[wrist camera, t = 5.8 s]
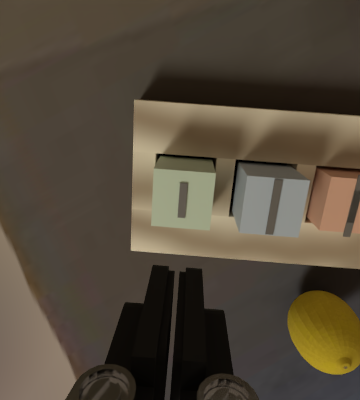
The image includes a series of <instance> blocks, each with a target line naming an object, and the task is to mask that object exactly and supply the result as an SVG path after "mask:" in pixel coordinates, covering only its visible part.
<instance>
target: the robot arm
mask: <svg viewBox="0 0 360 400" xmlns="http://www.w3.org/2000/svg"><path fill="white" fill-rule="evenodd" d="M174 273H175V271H169V266H159V265H153V267H152V271H151V275H150V279H149V284H148V288H147V292H146V296H145V301H144V304H142V303H129V302H126V303H125V304H124V306H123V309H122V312H121V316H120V319H119V322H118V325H117V328H116V331H115V334H114V337H113V340H112V343H111V346H110V349H109V352H108V355H107V358H106V361H105V364H104V365H98V366H96V367H93V368H91V369H89V370H88V371H86V372H85V373H84V374H82V375H81V376H80V377H79V379H78V380H77V381H76V382H75V384H74V386H73V388H72V389H71V391H70V393H69V394H68V396H67V398H66V399H65V400H164V397H165V387H166V376H167V365H168V355H169V344H170V331H171V317H172V302H173V288H174ZM170 400H259V398H258V396H257V394H256V393H255V391H254V389H253V388H252V387H251V386H250V385H249V384H248V383H247V382H245V381H244V380H242V379H241V378H239V377H237V376H234V375H233V368H232V362H231V355H230V348H229V341H228V334H227V327H226V320H225V314H224V311H223V310H216V309H204V296H203V277H202V269H197V268H186V272H181V271H180V274H179V287H178V301H177V314H176V327H175V340H174V354H173V367H172V380H171V394H170Z"/></svg>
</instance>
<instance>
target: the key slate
mask: <svg viewBox="0 0 360 400" xmlns="http://www.w3.org/2000/svg"><path fill="white" fill-rule="evenodd" d="M309 184H310V180H309V179H307V178H306V177H305V176H303V175H302V174H301V173H299V172H298V171H297V170H295V169H294V168H293V167H291V166H287V165H274V164H261V163H248V162H238V166H237V174H236V182H235V189H234V197H233V205H232V213H233V216H234V219H235V222H236V225H237V228H238V231H239V233H247V234H259V235H271V236H284V237H296V238H298V237H299V232H300V227H301V223H302V218H303V213H304V208H305V203H306V199H307V194H308V189H309Z"/></svg>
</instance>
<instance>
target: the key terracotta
mask: <svg viewBox="0 0 360 400" xmlns="http://www.w3.org/2000/svg"><path fill="white" fill-rule="evenodd" d="M306 217H307V218H308V219H309V220H310V221H311V222H312V223H313V224H314V225H315V226H316V227H317V229H318V230H320V231H333V232H344V233H343V237H350V236H351V233H358V234H360V169H355V168H342V167H329V166H316V171H315V175H314V180H313V185H312V190H311V194H310V199H309V204H308V208H307V213H306Z"/></svg>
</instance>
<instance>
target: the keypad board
mask: <svg viewBox="0 0 360 400" xmlns="http://www.w3.org/2000/svg"><path fill="white" fill-rule="evenodd" d="M159 154H172V155H185V156H198V157H211V158H214V168H215V172H216V178H215V187H214V196H213V206H212V215H211V224H210V231H209V230H197V229H184V228H172V227H159V226H151V218H152V195H153V172H154V167H155V165H156V163H157V161H158V159H159ZM236 159H238V160H251V161H264V162H277V163H287V166H291V167H293V168H294V169H295V170H297V171H298V172H299V173H301V174H302V175H303V176H305V177H306V178H307V179H309V180H310V184H309V189H308V194H307V199H306V203H305V208H304V213H303V218H302V223H301V227H300V232H299V237H298V238H296V237H284V236H271V235H259V234H247V233H239V231H238V228H237V225H236V222H235V219H234V216H233V213H232V207H231V206H230V201H231V193H232V185H233V178H234V170H235V162H236ZM316 166H329V167H342V168H355V169H360V116H359V115H346V114H332V113H319V112H305V111H291V110H278V109H264V108H251V107H237V106H224V105H210V104H197V103H183V102H169V101H156V100H142V99H138V100H134V135H133V180H132V225H131V251H143V252H155V253H167V254H180V255H192V256H204V257H217V258H229V259H241V260H254V261H266V262H278V263H290V264H303V265H315V266H327V267H340V268H352V269H360V234H358V233H351V236H350V237H343V233H344V232H333V231H320V230H318V229H317V227H316V226H315V225H314V224H313V223H312V222H311V221H310V220H309V219H308V218H307V217H306V213H307V208H308V204H309V199H310V194H311V190H312V185H313V180H314V175H315V171H316Z"/></svg>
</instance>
